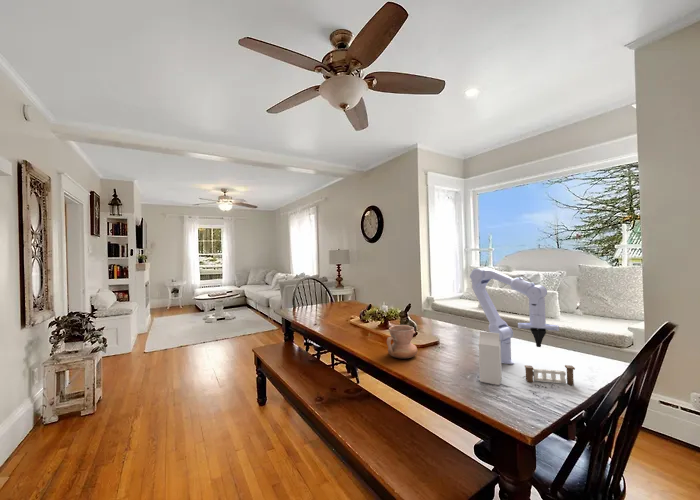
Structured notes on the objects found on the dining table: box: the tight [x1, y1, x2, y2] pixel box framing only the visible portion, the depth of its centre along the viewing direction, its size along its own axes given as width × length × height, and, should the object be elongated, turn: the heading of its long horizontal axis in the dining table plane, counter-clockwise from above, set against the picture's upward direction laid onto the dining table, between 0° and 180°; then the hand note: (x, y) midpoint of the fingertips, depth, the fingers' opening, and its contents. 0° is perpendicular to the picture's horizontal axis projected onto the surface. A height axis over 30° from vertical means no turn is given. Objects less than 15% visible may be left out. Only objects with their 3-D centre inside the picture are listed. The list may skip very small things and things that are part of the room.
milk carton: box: [478, 331, 503, 386], centre depth 119 cm, size 7×7×19 cm
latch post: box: [524, 364, 535, 383], centre depth 117 cm, size 2×2×6 cm
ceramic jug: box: [386, 324, 418, 360], centre depth 149 cm, size 18×14×14 cm
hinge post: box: [564, 364, 576, 386], centre depth 113 cm, size 2×2×7 cm
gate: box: [533, 368, 567, 384], centre depth 115 cm, size 10×1×4 cm, turn 72°
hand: (538, 346), depth 126 cm, fingers closed
